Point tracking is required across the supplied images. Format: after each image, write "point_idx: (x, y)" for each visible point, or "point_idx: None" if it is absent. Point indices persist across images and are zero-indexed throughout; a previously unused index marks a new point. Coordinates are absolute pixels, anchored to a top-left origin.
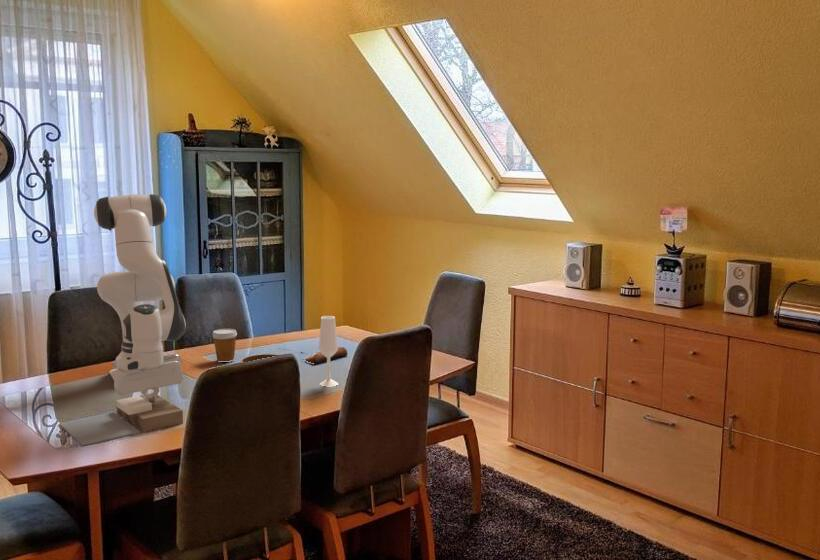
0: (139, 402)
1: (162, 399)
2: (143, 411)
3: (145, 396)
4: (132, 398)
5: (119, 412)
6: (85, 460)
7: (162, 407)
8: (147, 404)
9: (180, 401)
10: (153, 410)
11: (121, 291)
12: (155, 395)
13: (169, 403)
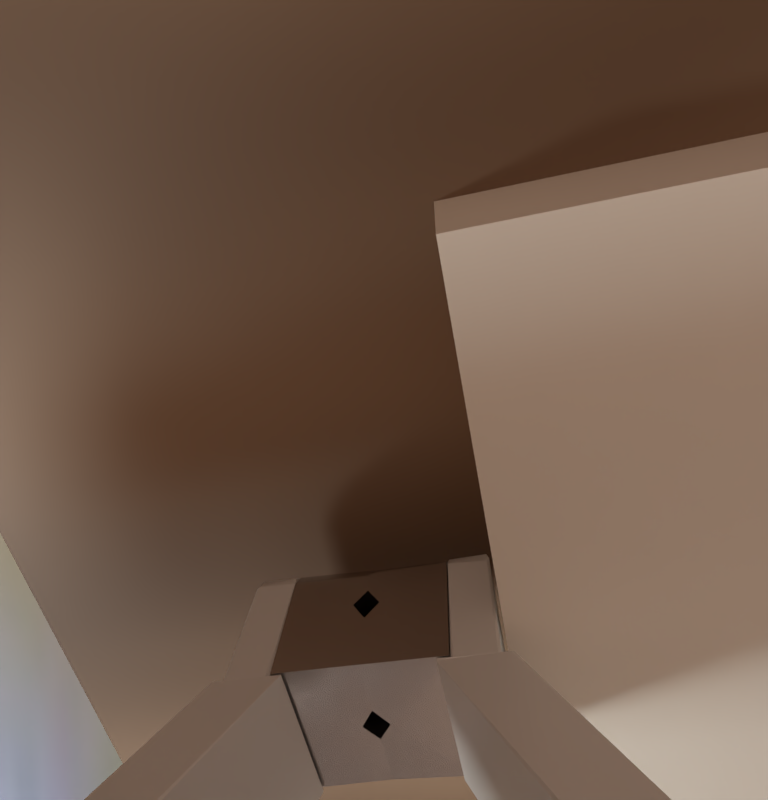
0: (747, 541)
1: (141, 737)
2: (693, 150)
3: (555, 715)
4: None
5: None
6: None
7: (161, 280)
8: (604, 208)
9: (2, 788)
10: (411, 139)
11: None
12: (223, 713)
13: (4, 481)
